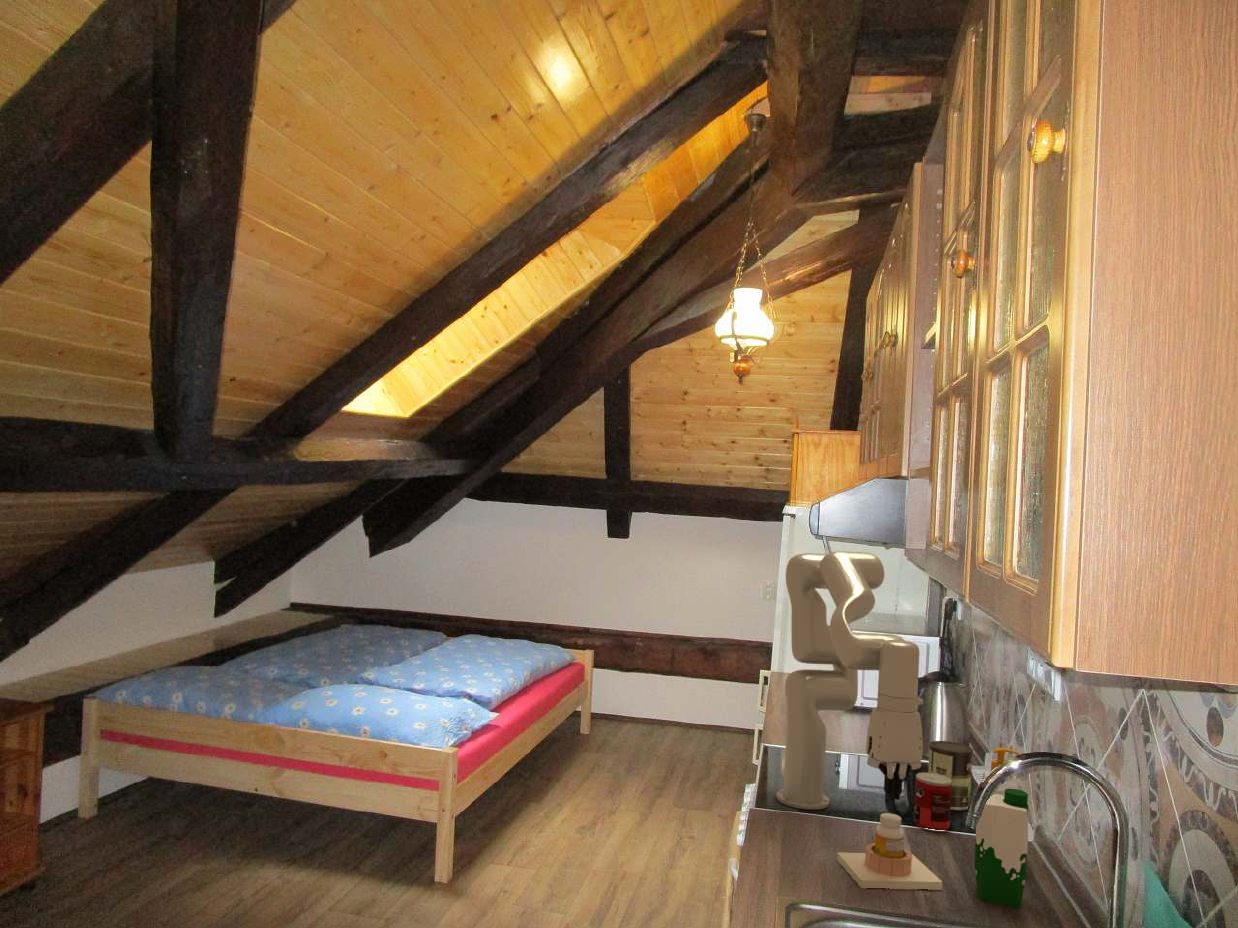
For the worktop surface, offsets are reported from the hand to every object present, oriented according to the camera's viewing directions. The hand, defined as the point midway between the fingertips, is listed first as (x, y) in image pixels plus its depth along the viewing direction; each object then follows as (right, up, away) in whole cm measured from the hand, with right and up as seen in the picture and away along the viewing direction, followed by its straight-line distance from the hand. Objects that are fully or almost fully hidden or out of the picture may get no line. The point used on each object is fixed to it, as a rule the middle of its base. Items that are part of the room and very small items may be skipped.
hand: (892, 797), depth 175 cm
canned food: (+18, -18, +29) cm, 38 cm away
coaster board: (-1, -15, 0) cm, 15 cm away
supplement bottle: (-1, -14, 0) cm, 14 cm away
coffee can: (+28, -19, +46) cm, 57 cm away
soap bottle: (+26, -18, +12) cm, 33 cm away
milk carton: (+18, -16, -7) cm, 25 cm away
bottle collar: (-1, -14, 0) cm, 14 cm away
